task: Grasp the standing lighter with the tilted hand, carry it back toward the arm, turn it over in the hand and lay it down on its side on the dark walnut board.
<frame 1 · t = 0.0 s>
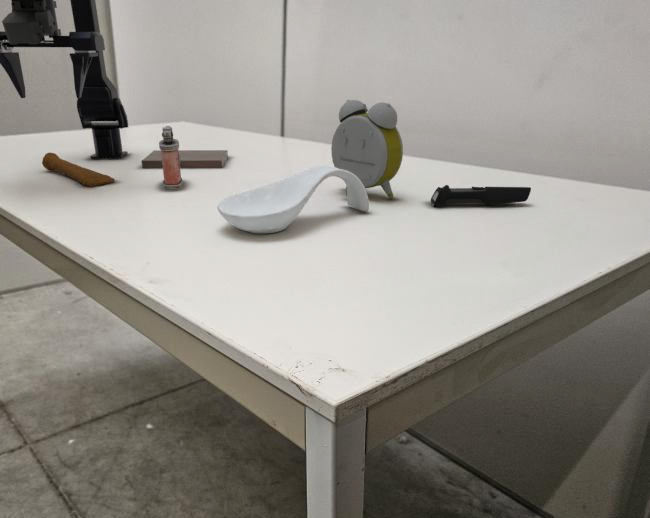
hand: (51, 98, 104), 15 cm above the table, tool pointing down, fingers open, 9 cm apart
board: (187, 162, 130), on the table
spoon rest: (296, 222, 89), on the table
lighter: (173, 186, 110), on the table
primitive tool: (78, 178, 116), on the table
electric trimmer: (477, 205, 99), on the table
alarm clock: (362, 197, 103), on the table
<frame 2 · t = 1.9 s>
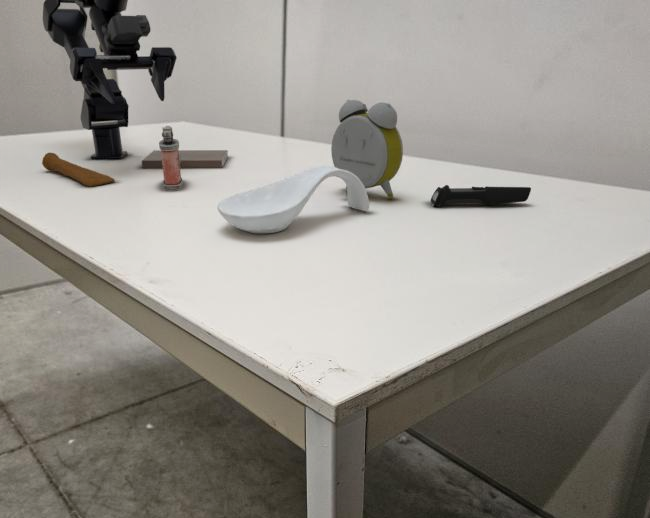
hand: (139, 100, 113), 13 cm above the table, tool tilted 45°, fingers open, 9 cm apart
nothing on the table moved.
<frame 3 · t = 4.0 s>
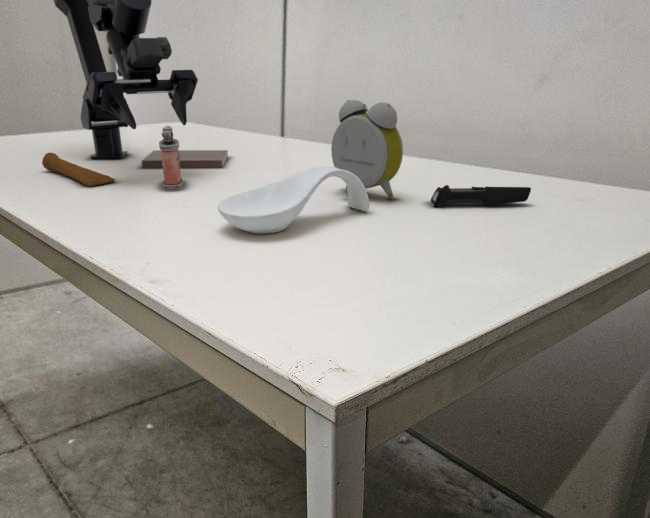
hand: (160, 125, 108), 10 cm above the table, tool tilted 45°, fingers open, 9 cm apart
nothing on the table moved.
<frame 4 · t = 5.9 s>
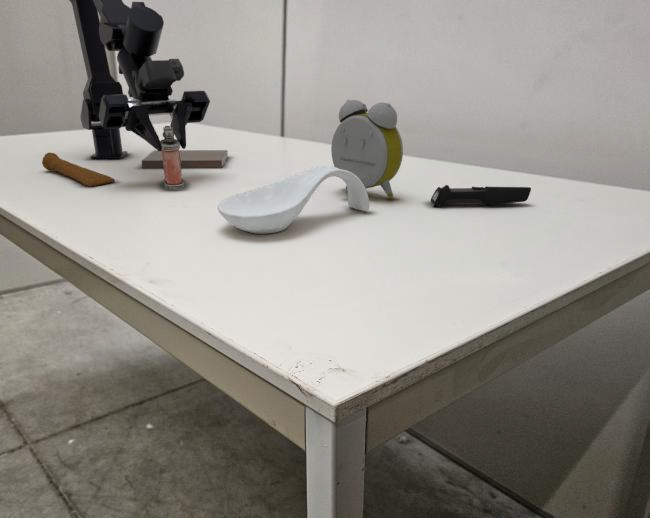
hand: (172, 148, 106), 7 cm above the table, tool tilted 45°, fingers closed on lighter, 4 cm apart
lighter: (174, 186, 110), on the table, touching gripper
everything else where it was.
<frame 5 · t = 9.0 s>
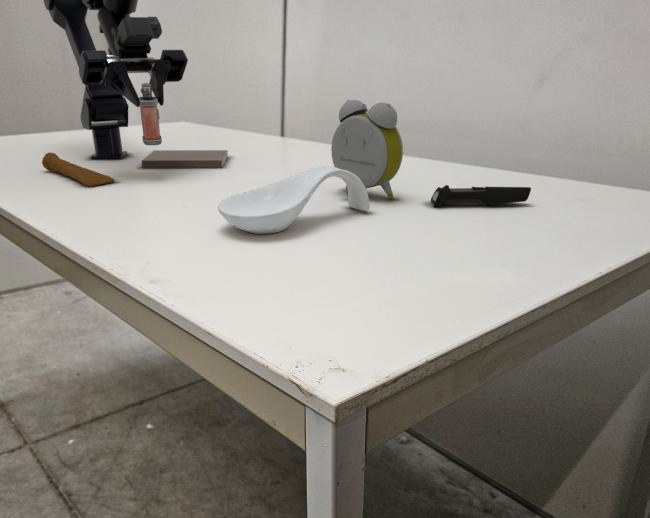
hand: (150, 104, 109), 13 cm above the table, tool tilted 45°, fingers closed on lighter, 4 cm apart
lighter: (152, 142, 113), point 6 cm above the table, touching gripper
everything else where it was.
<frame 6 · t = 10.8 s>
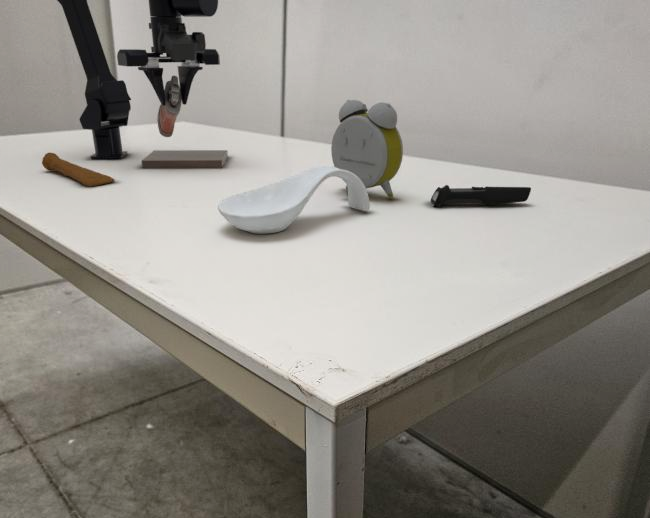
hand: (174, 104, 122), 12 cm above the table, tool pointing down, fingers closed on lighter, 4 cm apart
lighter: (165, 122, 128), point 8 cm above the table, touching gripper
everything else where it was.
when the fingers open (8 cm above the table, at t = 12.5 s): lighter moves 5 cm, resting on board.
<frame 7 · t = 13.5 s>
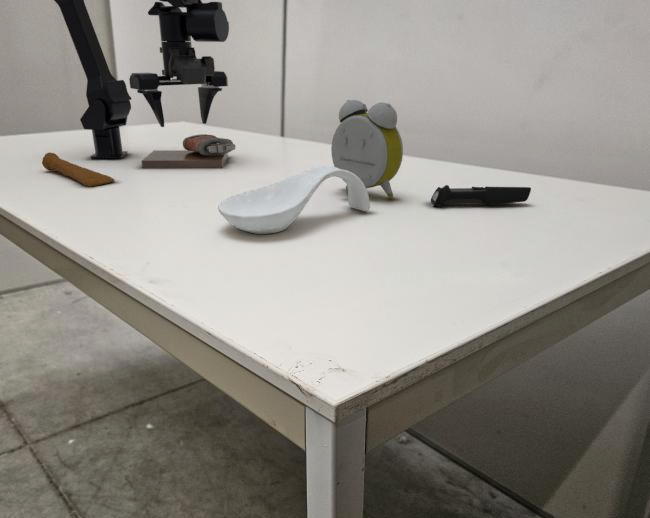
hand: (183, 125, 127), 8 cm above the table, tool pointing down, fingers open, 9 cm apart
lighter: (199, 142, 134), point 3 cm above the table, touching board
everything else where it was.
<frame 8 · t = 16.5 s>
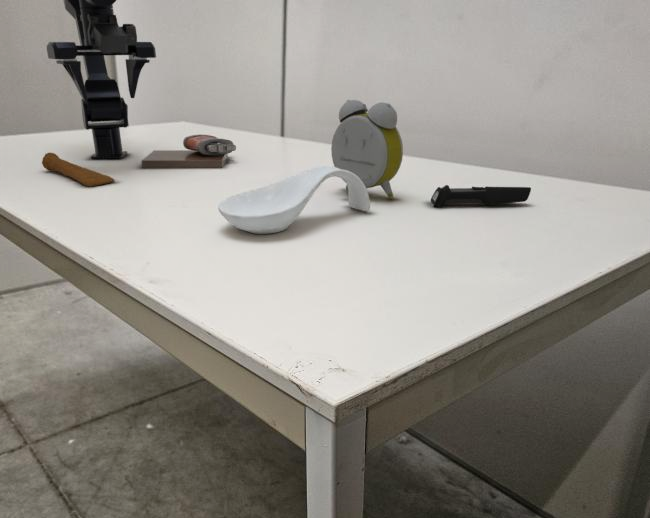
hand: (109, 99, 119), 13 cm above the table, tool pointing down, fingers open, 9 cm apart
nothing on the table moved.
at the end: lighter tilted 90°; board 0.0 cm off-centre on the board, point 0.0 cm above the board's base; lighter inside the target area on the board (6.2 cm from its centre), point 3.2 cm above the board's base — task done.
